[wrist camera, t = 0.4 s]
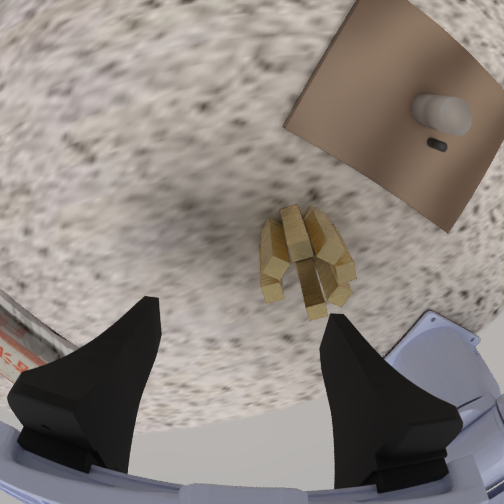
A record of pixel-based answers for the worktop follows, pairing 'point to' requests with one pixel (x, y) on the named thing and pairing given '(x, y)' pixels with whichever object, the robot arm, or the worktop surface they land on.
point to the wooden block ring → (326, 260)
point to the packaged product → (26, 340)
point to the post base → (404, 108)
